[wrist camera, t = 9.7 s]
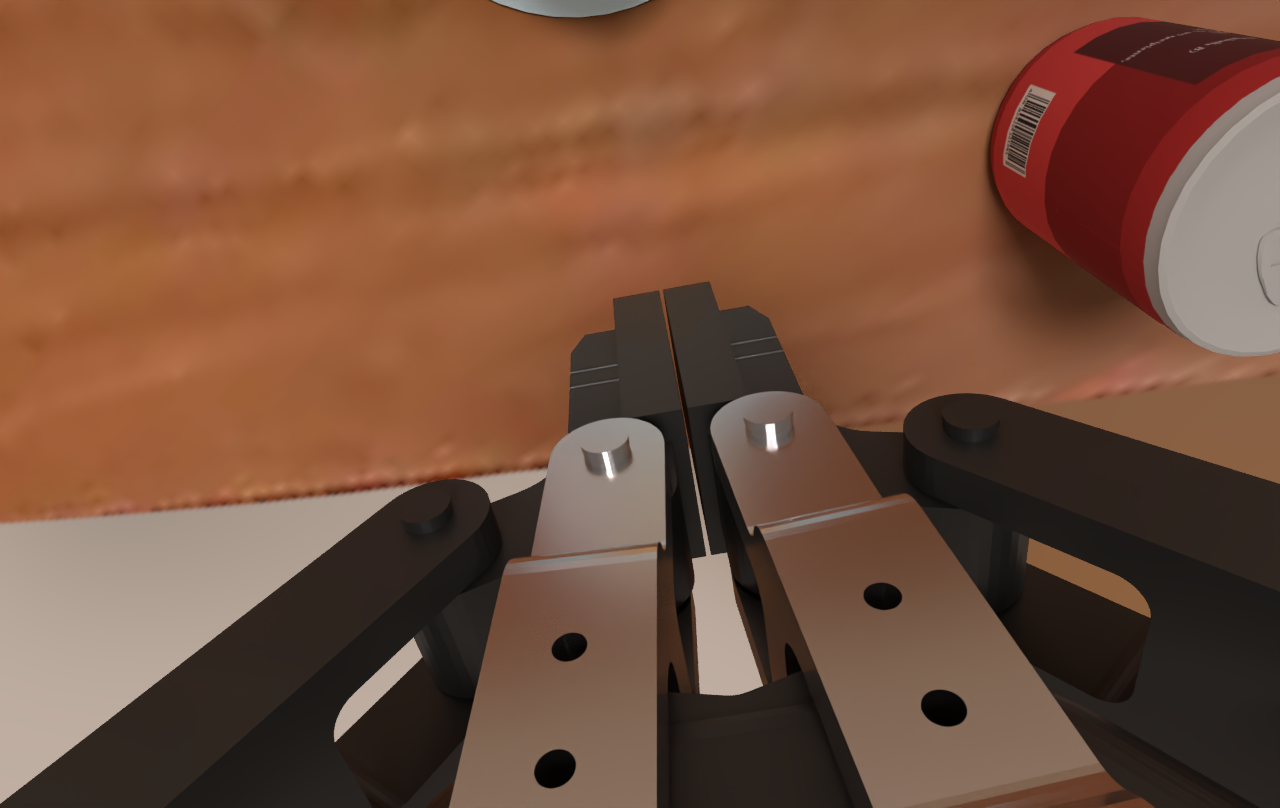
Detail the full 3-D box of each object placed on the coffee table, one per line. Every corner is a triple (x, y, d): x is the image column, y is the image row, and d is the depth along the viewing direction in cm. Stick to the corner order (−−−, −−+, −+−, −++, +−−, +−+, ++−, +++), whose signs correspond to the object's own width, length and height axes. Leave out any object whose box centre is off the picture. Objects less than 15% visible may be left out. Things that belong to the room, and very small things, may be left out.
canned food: (1022, 266, 33) (1195, 405, 24) (950, 97, 29) (1120, 182, 20) (1209, 160, 31) (1478, 265, 22) (1157, -35, 27) (1454, -10, 18)
